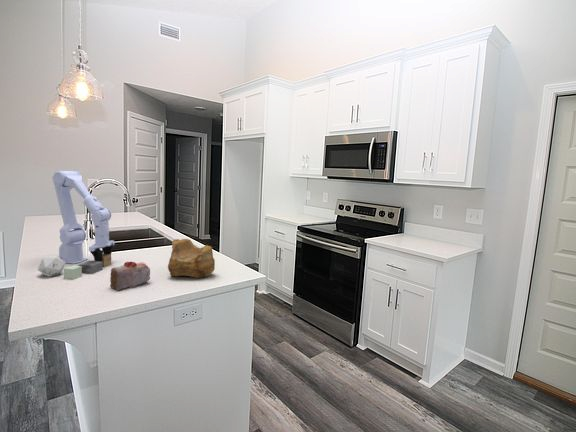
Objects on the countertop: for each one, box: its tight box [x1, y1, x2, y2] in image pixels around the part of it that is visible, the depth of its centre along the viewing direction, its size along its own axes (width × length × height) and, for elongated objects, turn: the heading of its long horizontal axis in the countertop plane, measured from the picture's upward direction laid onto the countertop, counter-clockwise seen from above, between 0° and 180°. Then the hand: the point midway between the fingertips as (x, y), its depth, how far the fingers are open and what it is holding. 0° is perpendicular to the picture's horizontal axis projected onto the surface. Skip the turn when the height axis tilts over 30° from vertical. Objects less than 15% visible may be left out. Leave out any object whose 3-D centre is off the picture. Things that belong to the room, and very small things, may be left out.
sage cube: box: [62, 265, 83, 281], centre depth 137 cm, size 4×4×4 cm
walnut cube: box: [93, 253, 112, 268], centre depth 154 cm, size 5×5×5 cm
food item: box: [109, 261, 151, 291], centre depth 130 cm, size 14×8×10 cm, turn 143°
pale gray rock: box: [37, 254, 67, 278], centre depth 138 cm, size 8×9×10 cm
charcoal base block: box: [78, 260, 104, 275], centre depth 145 cm, size 6×6×4 cm
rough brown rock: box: [167, 238, 216, 279], centre depth 145 cm, size 23×17×15 cm
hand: (102, 262), depth 154 cm, fingers closed on walnut cube, 5 cm apart
